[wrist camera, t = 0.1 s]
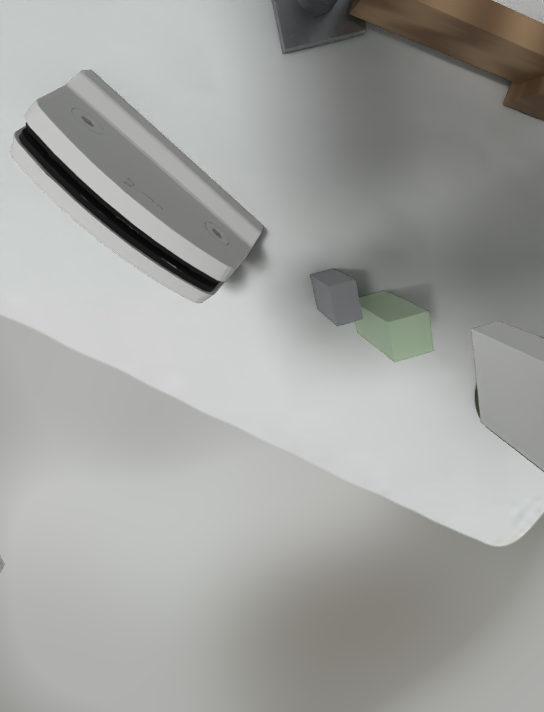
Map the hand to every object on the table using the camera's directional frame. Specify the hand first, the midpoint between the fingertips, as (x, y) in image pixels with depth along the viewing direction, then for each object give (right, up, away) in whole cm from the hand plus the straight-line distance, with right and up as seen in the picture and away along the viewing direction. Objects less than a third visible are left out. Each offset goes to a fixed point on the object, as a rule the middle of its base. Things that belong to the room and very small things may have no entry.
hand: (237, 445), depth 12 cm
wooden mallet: (+15, +25, +24) cm, 38 cm away
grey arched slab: (-8, +15, +24) cm, 29 cm away
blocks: (+8, +7, +29) cm, 30 cm away
